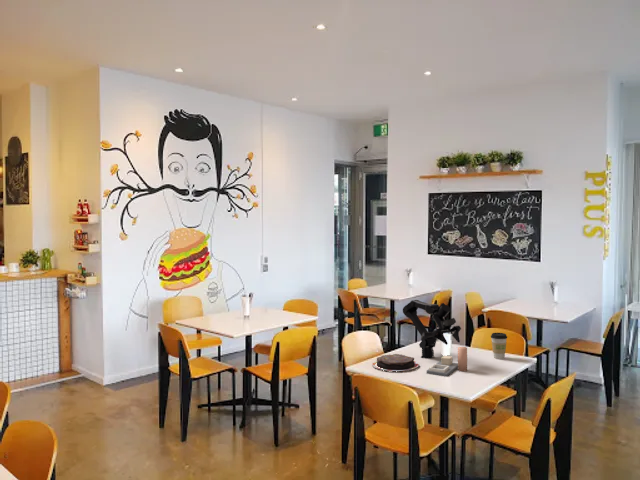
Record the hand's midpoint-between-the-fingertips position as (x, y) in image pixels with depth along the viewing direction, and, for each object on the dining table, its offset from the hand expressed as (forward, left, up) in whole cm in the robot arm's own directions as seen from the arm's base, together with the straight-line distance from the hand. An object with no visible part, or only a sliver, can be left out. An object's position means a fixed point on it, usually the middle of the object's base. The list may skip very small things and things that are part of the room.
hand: (453, 343), depth 310 cm
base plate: (-3, -9, -14) cm, 17 cm away
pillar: (+7, -5, -14) cm, 16 cm away
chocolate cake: (-31, -14, -15) cm, 37 cm away
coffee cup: (+19, +31, -14) cm, 39 cm away
